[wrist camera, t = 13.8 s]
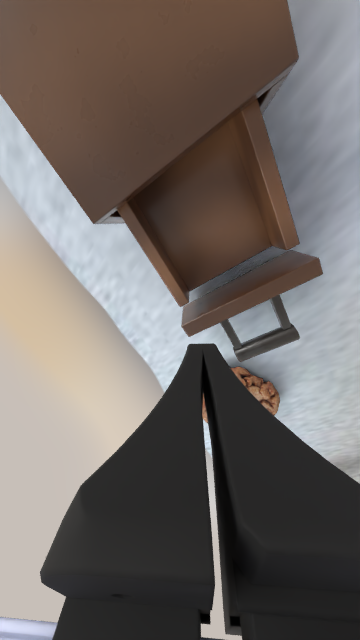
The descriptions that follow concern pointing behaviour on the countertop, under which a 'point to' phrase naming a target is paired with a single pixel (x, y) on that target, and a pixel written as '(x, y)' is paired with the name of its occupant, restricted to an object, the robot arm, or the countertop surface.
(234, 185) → the drawer
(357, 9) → the countertop surface
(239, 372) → the cookie
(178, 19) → the cabinet
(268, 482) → the robot arm
